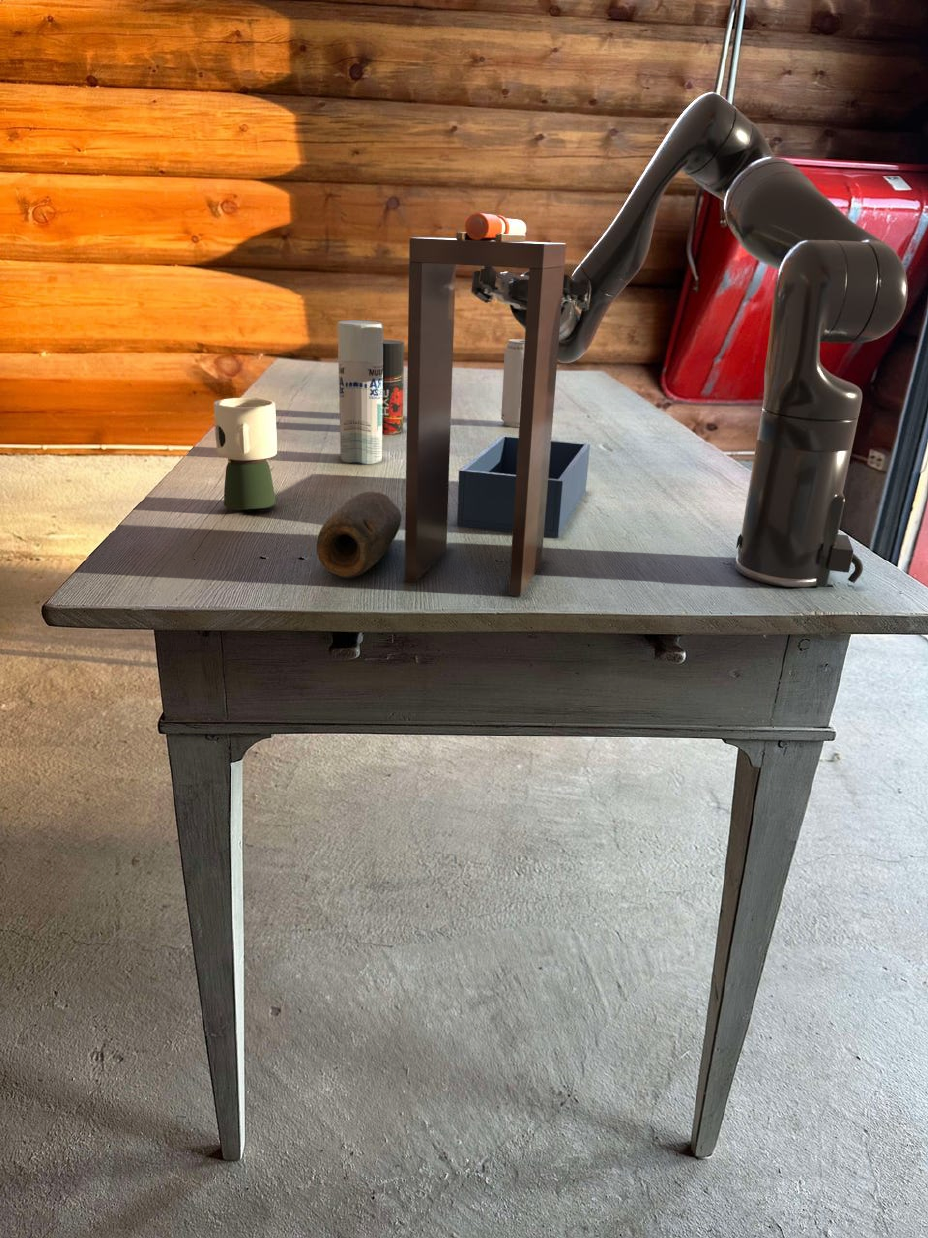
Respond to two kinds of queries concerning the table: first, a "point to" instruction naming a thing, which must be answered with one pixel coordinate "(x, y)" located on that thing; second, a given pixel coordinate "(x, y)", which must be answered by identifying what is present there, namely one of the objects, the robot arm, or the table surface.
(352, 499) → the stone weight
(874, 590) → the table surface
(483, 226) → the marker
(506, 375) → the energy drink can
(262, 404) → the character mug
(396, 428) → the deodorant
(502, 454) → the bin
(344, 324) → the spray paint can
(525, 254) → the stand
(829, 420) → the robot arm
